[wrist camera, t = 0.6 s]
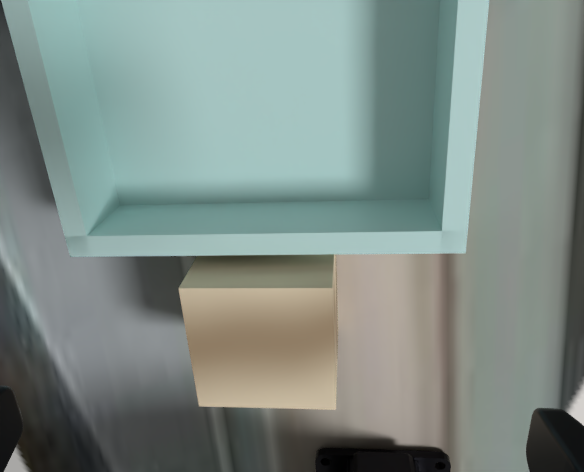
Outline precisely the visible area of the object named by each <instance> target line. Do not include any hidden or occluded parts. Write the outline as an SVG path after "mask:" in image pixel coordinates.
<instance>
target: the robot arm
mask: <svg viewBox="0 0 584 472" xmlns="http://www.w3.org/2000/svg"><path fill="white" fill-rule="evenodd" d="M22 431H23V419H22V416H21V412H20V409H19V406H18V403H17V400H16V396H15V393H14V391H13V390H12V389H11V388H10V387H8V386H0V472H4V470H5V468H6V466H7V464H8V461H9V459H10V458H11V455H12V453H13V451H14V449H15V447H16V445H17V443H18V441H19V439H20V437H21V434H22ZM526 457H527V463H528V467H529V471H530V472H584V426H583V425H582V424H581V423H580V422H578V421H577V420H576V419H574V418H573V417H572V416H571V415H569V414H568V413H567V412H565V411H564V410H562V409H553V408H537V409H536V410H534V412H533V414H532V419H531V424H530V429H529V434H528V440H527V445H526ZM324 458H328V459H324ZM437 462H441V463H437ZM450 468H451V465H450V460H449V456H448V455H447V454H445V453H444V452H435V451H404V450H373V449H342V448H322V449H319V450H318V451H317V453H316V472H450Z"/></svg>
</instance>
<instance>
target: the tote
mask: <svg viewBox="0 0 584 472" xmlns="http://www.w3.org/2000/svg"><path fill="white" fill-rule="evenodd" d="M1 2H2V6H3V9H4V13H5V17H6V20H7V24H8V28H9V32H10V35H11V39H12V43H13V46H14V50H15V54H16V58H17V61H18V65H19V69H20V72H21V76H22V80H23V83H24V87H25V91H26V95H27V98H28V102H29V106H30V109H31V113H32V117H33V121H34V124H35V128H36V132H37V135H38V139H39V143H40V146H41V150H42V154H43V158H44V161H45V165H46V169H47V172H48V176H49V180H50V184H51V187H52V191H53V195H54V198H55V202H56V206H57V209H58V213H59V217H60V221H61V224H62V228H63V232H64V235H65V239H66V243H67V247H68V250H69V254H70V257H110V256H218V255H325V254H433V253H466V243H467V233H468V222H469V211H470V201H471V190H472V179H473V168H474V158H475V147H476V136H477V126H478V115H479V104H480V94H481V83H482V72H483V61H484V51H485V40H486V29H487V19H488V8H489V0H1Z"/></svg>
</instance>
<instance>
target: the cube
mask: <svg viewBox="0 0 584 472" xmlns="http://www.w3.org/2000/svg"><path fill="white" fill-rule="evenodd" d="M178 289H179V294H180V300H181V306H182V312H183V317H184V323H185V329H186V334H187V340H188V346H189V352H190V357H191V363H192V369H193V374H194V380H195V386H196V392H197V397H198V403H199V406H203V407H244V408H285V409H326V410H336V391H337V349H338V310H337V271H336V254H325V255H218V256H197V257H196V259H195V261H194V262H193V264H192V266H191V267H190V269H189V271H188V273H187V274H186V276H185V278H184V280H183V281H182V283H181V285H180V287H179V288H178Z"/></svg>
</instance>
